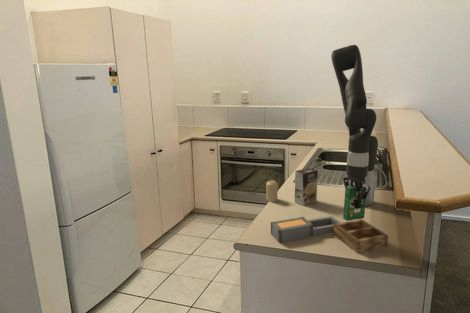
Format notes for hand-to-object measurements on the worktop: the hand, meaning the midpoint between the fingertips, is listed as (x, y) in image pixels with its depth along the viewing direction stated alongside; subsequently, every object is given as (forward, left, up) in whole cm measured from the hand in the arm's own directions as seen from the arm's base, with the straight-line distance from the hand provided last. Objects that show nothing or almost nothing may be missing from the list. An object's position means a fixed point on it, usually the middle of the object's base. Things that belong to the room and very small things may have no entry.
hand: (354, 206), depth 135 cm
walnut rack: (0, +4, -12) cm, 13 cm away
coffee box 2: (0, 0, -5) cm, 5 cm away
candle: (+14, -47, -13) cm, 51 cm away
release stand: (+15, -9, -12) cm, 22 cm away
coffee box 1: (0, -38, -13) cm, 40 cm away
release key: (+22, -9, -12) cm, 27 cm away
